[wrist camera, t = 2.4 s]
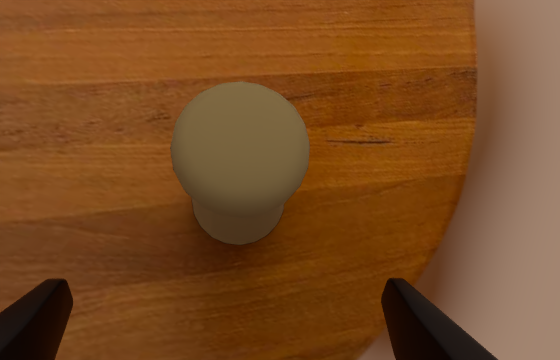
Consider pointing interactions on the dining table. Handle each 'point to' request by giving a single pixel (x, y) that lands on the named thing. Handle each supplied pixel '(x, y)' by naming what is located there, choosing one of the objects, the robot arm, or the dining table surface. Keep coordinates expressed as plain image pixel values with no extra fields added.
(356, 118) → the dining table surface
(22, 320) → the robot arm
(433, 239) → the dining table surface
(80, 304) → the dining table surface
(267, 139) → the tan peg doll
